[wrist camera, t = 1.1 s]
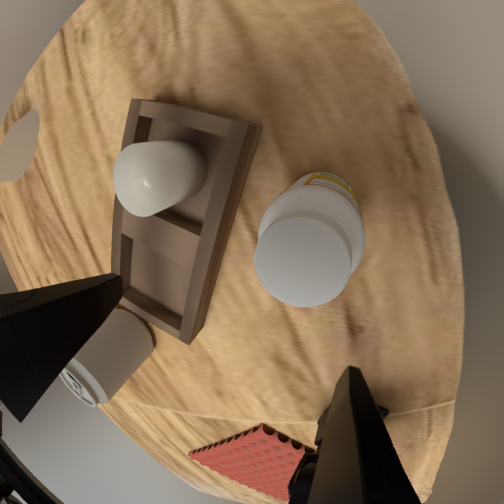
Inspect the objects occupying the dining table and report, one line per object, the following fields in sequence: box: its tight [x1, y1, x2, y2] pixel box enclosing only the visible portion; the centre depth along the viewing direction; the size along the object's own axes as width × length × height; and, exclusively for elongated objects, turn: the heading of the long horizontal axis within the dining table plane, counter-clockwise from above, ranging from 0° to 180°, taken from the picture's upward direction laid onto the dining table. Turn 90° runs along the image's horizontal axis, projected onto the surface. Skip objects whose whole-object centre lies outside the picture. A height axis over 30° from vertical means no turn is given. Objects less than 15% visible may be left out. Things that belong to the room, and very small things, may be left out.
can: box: [59, 309, 153, 407], centre depth 27 cm, size 8×8×12 cm
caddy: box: [111, 99, 263, 345], centre depth 22 cm, size 10×20×3 cm, turn 163°
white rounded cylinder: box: [113, 139, 207, 217], centre depth 18 cm, size 5×5×5 cm
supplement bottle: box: [254, 172, 365, 307], centre depth 15 cm, size 5×5×10 cm
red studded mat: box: [188, 423, 316, 502], centre depth 38 cm, size 28×28×2 cm
